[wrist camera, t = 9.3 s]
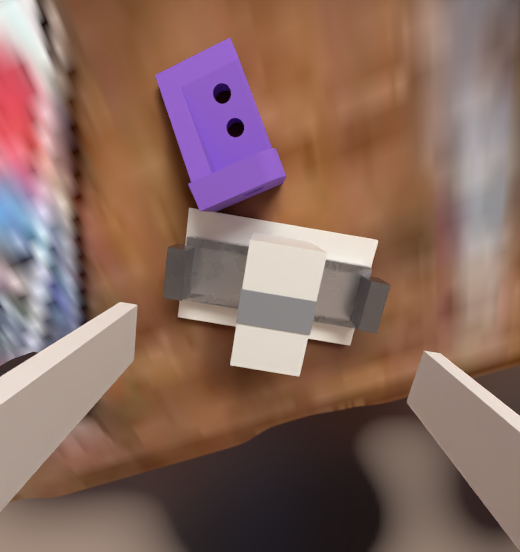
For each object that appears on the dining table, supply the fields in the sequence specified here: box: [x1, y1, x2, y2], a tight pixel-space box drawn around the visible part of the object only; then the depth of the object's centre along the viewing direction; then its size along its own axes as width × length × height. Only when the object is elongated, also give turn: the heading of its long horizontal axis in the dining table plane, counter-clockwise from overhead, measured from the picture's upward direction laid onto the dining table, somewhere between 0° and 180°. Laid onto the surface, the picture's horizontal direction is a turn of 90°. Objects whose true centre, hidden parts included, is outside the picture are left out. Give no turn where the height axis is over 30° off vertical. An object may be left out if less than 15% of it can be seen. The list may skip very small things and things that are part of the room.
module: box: [230, 232, 327, 376], centre depth 21 cm, size 5×9×7 cm, turn 171°
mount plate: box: [178, 208, 378, 345], centre depth 27 cm, size 18×11×1 cm, turn 81°
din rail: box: [163, 235, 390, 333], centre depth 24 cm, size 19×6×4 cm, turn 81°
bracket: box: [155, 38, 286, 212], centre depth 21 cm, size 12×7×7 cm, turn 22°
